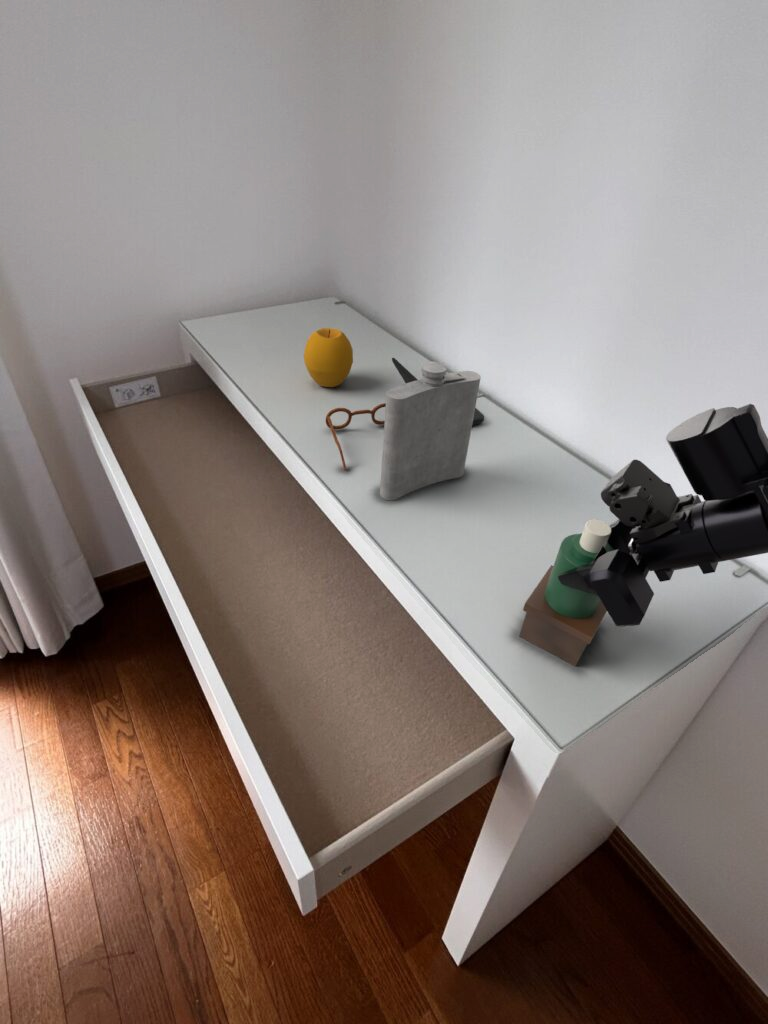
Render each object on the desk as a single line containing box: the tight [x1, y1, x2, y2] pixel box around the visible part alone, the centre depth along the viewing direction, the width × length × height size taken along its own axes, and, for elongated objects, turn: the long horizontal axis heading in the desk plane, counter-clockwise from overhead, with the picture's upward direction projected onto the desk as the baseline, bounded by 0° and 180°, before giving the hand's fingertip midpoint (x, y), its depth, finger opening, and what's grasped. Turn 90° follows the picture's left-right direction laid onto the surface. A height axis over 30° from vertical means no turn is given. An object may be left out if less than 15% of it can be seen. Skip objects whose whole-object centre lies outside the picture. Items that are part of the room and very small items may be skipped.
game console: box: [391, 357, 485, 426], centre depth 108 cm, size 16×14×9 cm
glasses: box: [325, 402, 386, 471], centre depth 98 cm, size 13×13×5 cm
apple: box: [303, 327, 354, 388], centre depth 113 cm, size 10×10×12 cm
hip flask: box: [379, 361, 482, 501], centre depth 86 cm, size 16×4×20 cm, turn 122°
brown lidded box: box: [518, 565, 608, 667], centre depth 68 cm, size 8×8×6 cm
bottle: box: [545, 519, 614, 619], centre depth 63 cm, size 6×6×11 cm
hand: (570, 563), depth 64 cm, fingers closed on bottle, 6 cm apart
